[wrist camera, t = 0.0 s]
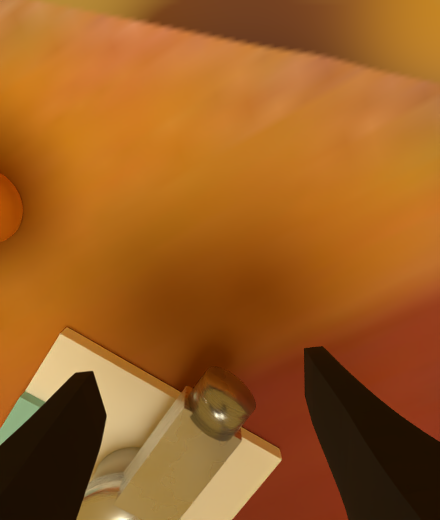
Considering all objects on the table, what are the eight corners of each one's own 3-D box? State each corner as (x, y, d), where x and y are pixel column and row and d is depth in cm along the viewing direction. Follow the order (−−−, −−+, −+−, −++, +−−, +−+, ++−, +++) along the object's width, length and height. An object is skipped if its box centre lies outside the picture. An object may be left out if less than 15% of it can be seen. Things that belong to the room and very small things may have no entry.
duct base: (174, 575, 28) (169, 627, 24) (-27, 477, 25) (-61, 521, 22) (279, 448, 25) (289, 488, 22) (66, 326, 23) (42, 351, 20)
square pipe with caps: (146, 564, 24) (136, 624, 20) (55, 520, 23) (30, 575, 19) (277, 400, 21) (288, 440, 18) (179, 342, 20) (173, 373, 17)
